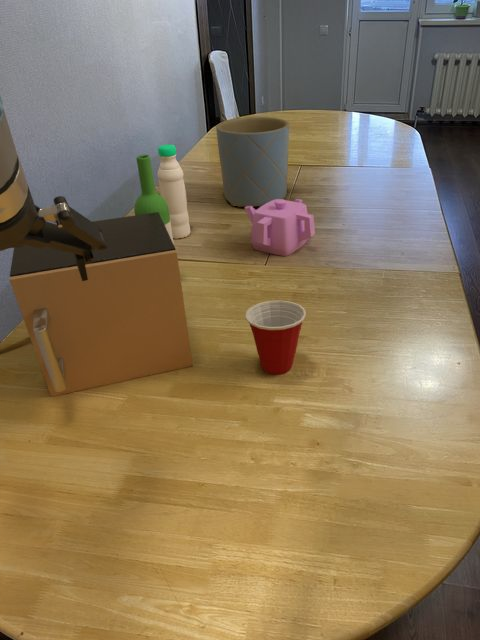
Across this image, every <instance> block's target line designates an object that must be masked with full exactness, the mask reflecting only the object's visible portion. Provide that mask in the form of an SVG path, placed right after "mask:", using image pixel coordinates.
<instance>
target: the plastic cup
mask: <svg viewBox="0 0 480 640" xmlns="http://www.w3.org/2000/svg"><path fill="white" fill-rule="evenodd" d="M306 316H307V312H306V309H305V308H304V307H303V306H302V305H301V304H300V303H296V302H293V301H288V300H282V299H278V300H277V299H276V300H266V301H264V302H258V303H257V304H254V305H252V306H250V307H249V308H248V309H247V310H246V311H245V320H246V321H247V322H248V324H249V327H250V329H251V330H250V331H251V332H252V335H253V340H254V343H255V348H256V352H257V354H258V357H259V358H258V359H259V362H260V366H261V368H262V370H264V372H266V373H268V374H270V375H274V376H277V375H284V374H286V373H288V372H289V371H291V369H292V367H293V365H294V360H295V356H296V353H297V348H298V343H299V338H300V332H301V330H302V325H303V322H304V319H306Z"/></svg>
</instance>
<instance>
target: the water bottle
mask: <svg viewBox="0 0 480 640" xmlns="http://www.w3.org/2000/svg"><path fill="white" fill-rule="evenodd" d="M157 153H158V156H159V158H160V163H159V168H158V170H157V179H158V184H159V185H158V187H159V195H161V196H162V197H163V198H164V199H165V201H166V203H167V205H168V208H169V215H170V221H171V228H172V235H173V238H174V239H173V240H179V238H181V239H184V237H185V238H187V237H189V236H190V235H191V226H190V221H189V219H190V218H189V216H190V215H189V212H188V211H189V210H188V203H187V202H188V201H187V192H186V191H187V190H186V185H185V179H184V170H183V168H182V167H181V165H180V163H179V162H178V161H177V159H176V157H177V147H176V146H175V145H174V144H169V143H168V144H161V145H160V146H158V148H157Z"/></svg>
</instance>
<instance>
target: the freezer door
mask: <svg viewBox="0 0 480 640" xmlns="http://www.w3.org/2000/svg"><path fill="white" fill-rule="evenodd" d="M85 267H86V272H87V277H88V280H86V281H82V279H81V276H80V273H79V270H78V267H77V266H74V267H68V268H62V269H56V270H50V271H43V272H37V273H31V274H25V275H19V276H13V277H10V276H9V283H10V285H11V288H12V291H13V294H14V297H15V300H16V302H17V306H18V308H19V310H20V313H21V316H22V319H23V322H24V324H25V327H26V330H27V333H28V335H29V338H30V341H31V344H32V347H33V349H34V353H35V355H36V358H37V361H38V363H39V367H40V369H41V373H42V375H43V378H44V381H45V383H46V386H47V389H48V392H49V394H50V397H52V398H53V397H56V396H62V395H66V394H71V393H75V392H79V391H84V390H88V389H93V388H98V387H102V386H107V385H111V384H116V383H121V382H126V381H129V380H135V379H139V378H143V377H148V376H152V375H158V374H162V373H166V372H167V373H168V372H171V371H175V370H180V369H185V368H189V367H193V366H194V365H193V364H194V363H193V357H192V350H191V344H190V335H189V329H188V323H187V322H188V321H187V315H186V314H187V313H186V308H185V307H186V306H185V301H184V294H183V286H182V278H181V272H180V265H179V258H178V251H177V250H172V251H166V252H160V253H154V254H147V255H141V256H135V257H129V258H123V259H117V260H111V261H105V262H98V263H92V264H86V265H85Z"/></svg>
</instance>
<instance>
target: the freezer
mask: <svg viewBox="0 0 480 640" xmlns="http://www.w3.org/2000/svg"><path fill="white" fill-rule="evenodd" d="M92 222H93V223H94V224H96V225H97V226H99V227H100V228H101V229H102V232H103V235H104V238H105V241H106V244H107V248H106V249H105V250H97V249H95V250H93V251H92V252H93V255H94V258H95V259H94V260H93V262H92V263H98V262H105V261H111V260H117V259H123V258H129V257H135V256H141V255H147V254H154V253H160V252H166V251H172V250H176V249H177V248H176V246H175V243H174V244H173V242H174V241H173V242H172V240H171V238H170V236H169V234H168V231H167V229H166V227H165V225H164V223H163V221H162V219H161V216H160V214H159V212H156V213H149V214H142V215H135V214H134V215H129V216H122V217H115V218H108V219H101V220H96V221H95V220H94V221H93V220H92ZM176 251H177V250H176ZM92 263H89V264H92ZM85 265H86V264H85ZM74 266H77V263H76V259H75V255H74V253H70V252H66V251H62V250H58V249H54V248H50V247H47V246H45V247H44V248H42V249H40V248H36V247H32V246H27V245H25V246H22V247H16V248H13V252H12V258H11V264H10V271H9V278H10V277H13V276H19V275H25V274H31V273H37V272H43V271H50V270H56V269H62V268H68V267H74Z"/></svg>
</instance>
